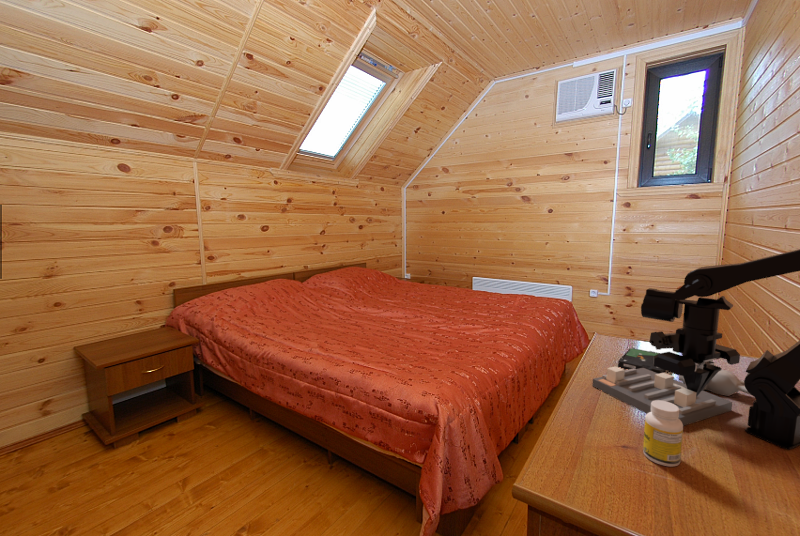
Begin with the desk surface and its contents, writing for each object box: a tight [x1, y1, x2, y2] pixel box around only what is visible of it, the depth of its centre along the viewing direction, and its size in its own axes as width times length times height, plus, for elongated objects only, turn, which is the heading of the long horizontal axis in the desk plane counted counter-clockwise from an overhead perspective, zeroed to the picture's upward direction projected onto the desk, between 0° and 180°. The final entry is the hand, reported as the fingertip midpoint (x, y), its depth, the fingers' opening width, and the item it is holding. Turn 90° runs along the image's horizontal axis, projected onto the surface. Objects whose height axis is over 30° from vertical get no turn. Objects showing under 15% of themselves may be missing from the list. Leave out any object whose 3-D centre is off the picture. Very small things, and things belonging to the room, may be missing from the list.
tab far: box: [606, 365, 625, 384], centre depth 90 cm, size 2×3×3 cm
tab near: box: [674, 388, 696, 407], centre depth 78 cm, size 2×3×3 cm
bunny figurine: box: [678, 369, 752, 397], centre depth 88 cm, size 10×5×15 cm
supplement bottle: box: [642, 400, 684, 468], centre depth 64 cm, size 5×5×10 cm
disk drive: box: [617, 347, 666, 374], centre depth 104 cm, size 10×3×15 cm
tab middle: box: [654, 372, 675, 390], centre depth 86 cm, size 2×3×3 cm
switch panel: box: [592, 368, 733, 427], centre depth 85 cm, size 20×18×3 cm
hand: (693, 396), depth 79 cm, fingers closed
